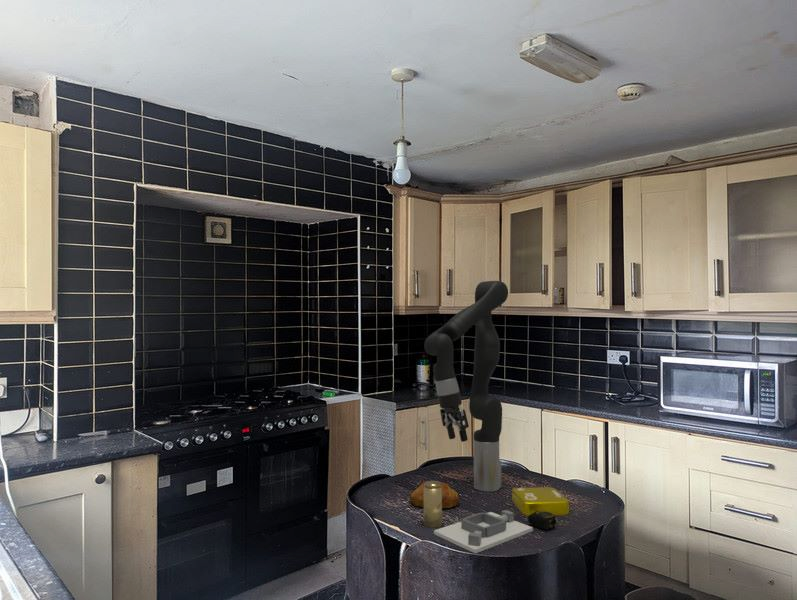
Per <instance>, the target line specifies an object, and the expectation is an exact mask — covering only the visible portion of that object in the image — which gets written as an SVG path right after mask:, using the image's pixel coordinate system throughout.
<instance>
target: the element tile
mask: <svg viewBox="0 0 797 600" xmlns="http://www.w3.org/2000/svg"><path fill="white" fill-rule="evenodd" d="M511 495H512V500H511V501H512V503H513V505H514V506H515V507H516V508H517V509H518V510H519V511H520V513H521V514H522V515H524V516H527V517H529V515H531V514H533V513H534V512H536V511H548V512H551V513H553V514H554V515H555V516H568V515H569V514H570V501H569V500H568V498H566V497H565V496H564V495H563V494H562V493H561V492H559V490H557V489H556V488H554V487H552V486H550V487H548V486H545V487H544V486H543V487H541V486H540V487H515V488H514V487H513V488H512V489H511Z"/></svg>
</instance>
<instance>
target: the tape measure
mask: <svg viewBox="0 0 797 600" xmlns="http://www.w3.org/2000/svg"><path fill="white" fill-rule="evenodd" d="M527 519H528V523H529V524H531V525H533V526H535V527H537V528H540V529H543V530H549V529H553V528H554V527H555V526H556V524H557V520H556V515H554V514H553V513H551V512H548V511H536V512H534V513H533V514H531V515H529V516H527Z"/></svg>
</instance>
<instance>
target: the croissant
mask: <svg viewBox="0 0 797 600" xmlns="http://www.w3.org/2000/svg"><path fill="white" fill-rule="evenodd" d="M439 482H440V483H441V486H442V509H451V508H453V507H456V506H457V505H458V503H459V501H460V497H459V494H458V492H457V491H455V489H453V488H451V487H450V486H449V485H448V484H447V483H446V482H442V481H439ZM424 485H425V482H422V483H420V485H419V487H417V488H416V489H414V491H412V493H411V494H410V501H412V504H413V506H415V507H417V506H418V507H419V508H424Z"/></svg>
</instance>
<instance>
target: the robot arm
mask: <svg viewBox="0 0 797 600" xmlns="http://www.w3.org/2000/svg"><path fill="white" fill-rule="evenodd" d="M474 291H475V292H474V303H472V304H471V305H469V306H467V307H465V308H463V309H462V310H460V311H458V312H457V313H456V314H454V315H453V316H452V317H451V318H450V319H448V321H447V322H446V323H445V324H444V325H442V326H441V327H440V328H438V329H437V330H435V331H434V332H431V334H430V335H428V336H427V338H426V339H425V341H424V345H423V346H424V351H425V352H426V353H427V355H430V356H434V357H435V356H436V363H434V364H433V366H432V371H433V377H434V380H435V388H436V394H437V399H438V403H439V408H440V409H439V412H440V417H441V423H442V426H443V427H445V429H446V430H447V435H448V439H449V440H455V439H456V432H455V428H454V426H456V427H457V429H458V434H459V438H460V442H462V443H463V442H467V441H468V435H467V430H466V429H468V428H469V427H470V425H469V421H468V417H467V413H466V410H465V409H464V408H463V409H460V406H461V405H462V404H463V403H462V401H463V400H462V396H461V393H460V387H459V383H458V380H457V377H456V373H455V367H454V351H455V350H454V344H453V342H455V341H457V340H459V339H460V338H462V337H463V336H464V335H465V334H466V333H467V332H468V331H469V330H470V329H471V328H473V326H474V325H475V337H474V338H475V340H474V350H473V351H474V352H473V370H472V371H473V372H472V373H473V374H472V383H471V390H470V395H469V396H470V397H469V403H468V404H469V405H468V409H469V413H470V416H471V417H472V418H474V419H475V420H479V421H481V427H480V429H476V430H475V431H474V432H473V488H474V489H475V490H477V491H481V492H496V491H497V492H498V490H500V488H502V461H501V460H500V436H501V433H502V426H503V406H502V405H503V404H502V402H501V401H500V399H499V398H498V397H496V396H492V395H489V383H490V379H491V377H492V375H493V374H494V371H495V370H496V368H497V366H498V365H499V361H500V356H501V355H500V352H501V351H500V350H501V342H500V340H501V339H500V336H499V335H498V332H497V330H496V327H495V326H494V323H493V321H492V312H493V311H494V310H495V309H496V308H499V307H500V306H502V305H503V304H504V303H505V302H506V301H507V299H508V297H509V289H508V287H507V284H506V283H504V282H503V281H501V280H487V281H485V280H484V281H480V282H479V283H478V284H477V285H476V287H475V290H474Z"/></svg>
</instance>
